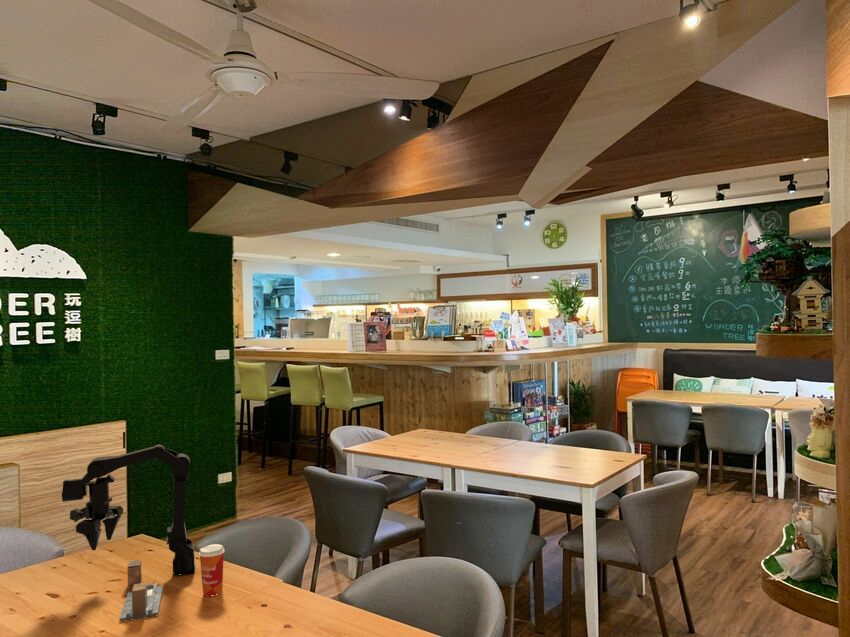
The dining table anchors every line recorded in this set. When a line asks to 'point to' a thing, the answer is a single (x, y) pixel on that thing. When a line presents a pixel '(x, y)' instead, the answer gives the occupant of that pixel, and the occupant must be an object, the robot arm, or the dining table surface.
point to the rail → (150, 600)
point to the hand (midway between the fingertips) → (101, 544)
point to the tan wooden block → (134, 573)
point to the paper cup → (212, 568)
